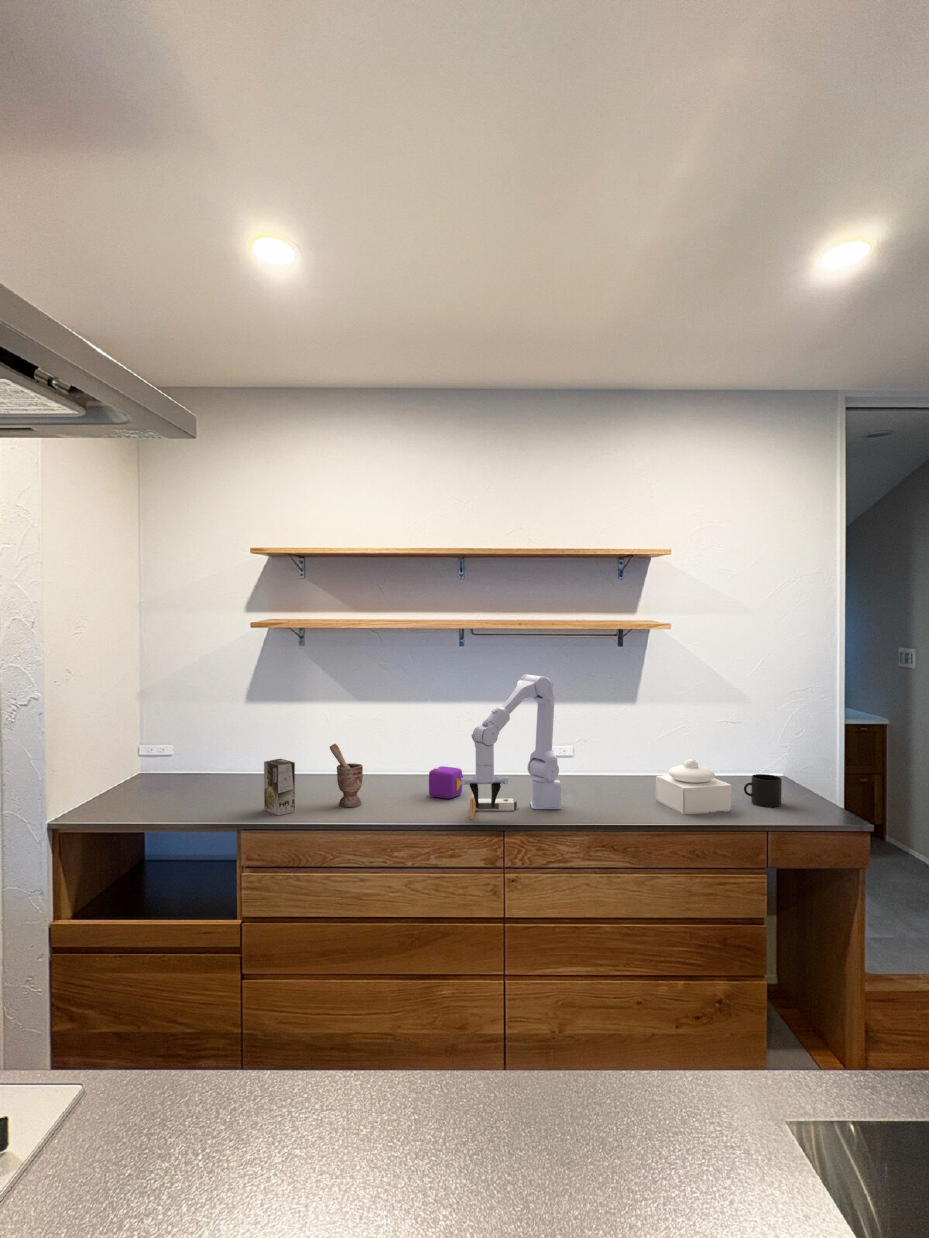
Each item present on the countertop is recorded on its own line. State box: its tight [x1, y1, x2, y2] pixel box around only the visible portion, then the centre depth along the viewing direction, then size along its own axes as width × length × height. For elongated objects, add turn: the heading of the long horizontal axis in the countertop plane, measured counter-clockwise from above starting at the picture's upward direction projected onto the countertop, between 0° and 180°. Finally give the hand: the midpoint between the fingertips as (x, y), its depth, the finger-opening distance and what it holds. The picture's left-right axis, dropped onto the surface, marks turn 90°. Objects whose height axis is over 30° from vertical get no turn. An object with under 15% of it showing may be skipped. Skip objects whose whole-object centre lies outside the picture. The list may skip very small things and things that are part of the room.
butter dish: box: [655, 758, 732, 815], centre depth 245 cm, size 18×18×16 cm
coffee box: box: [263, 758, 296, 816], centre depth 237 cm, size 9×6×16 cm
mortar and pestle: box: [329, 743, 364, 808], centre depth 245 cm, size 12×9×20 cm
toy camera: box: [428, 766, 464, 800], centre depth 258 cm, size 11×14×10 cm
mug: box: [743, 773, 783, 808], centre depth 248 cm, size 9×12×9 cm
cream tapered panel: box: [475, 798, 518, 812], centre depth 241 cm, size 14×5×3 cm, turn 91°
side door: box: [469, 793, 476, 820], centre depth 233 cm, size 10×1×6 cm, turn 173°
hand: (484, 806), depth 230 cm, fingers open, 4 cm apart
